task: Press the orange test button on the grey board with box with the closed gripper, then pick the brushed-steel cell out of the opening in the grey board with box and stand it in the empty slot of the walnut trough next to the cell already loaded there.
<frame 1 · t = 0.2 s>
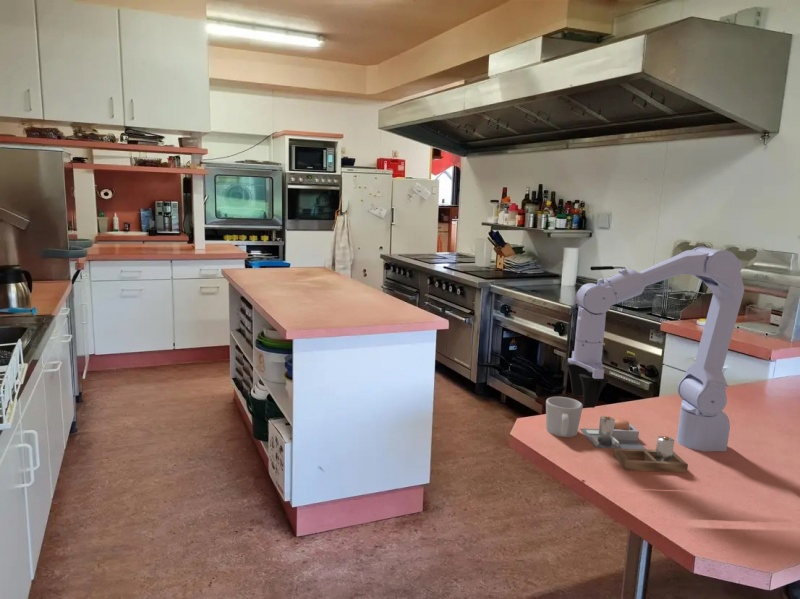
hand: (583, 400, 125), 10 cm above the countertop, fingers open, 7 cm apart
cell: (604, 442, 125), point 1 cm above the countertop, touching grey board with box
cell2: (662, 465, 116), point 1 cm above the countertop, touching trough
grey board with box: (611, 443, 127), on the countertop
button: (620, 425, 129), point 3 cm above the countertop, slide at 0.0 cm
trough: (648, 469, 116), on the countertop
cup: (561, 439, 129), on the countertop
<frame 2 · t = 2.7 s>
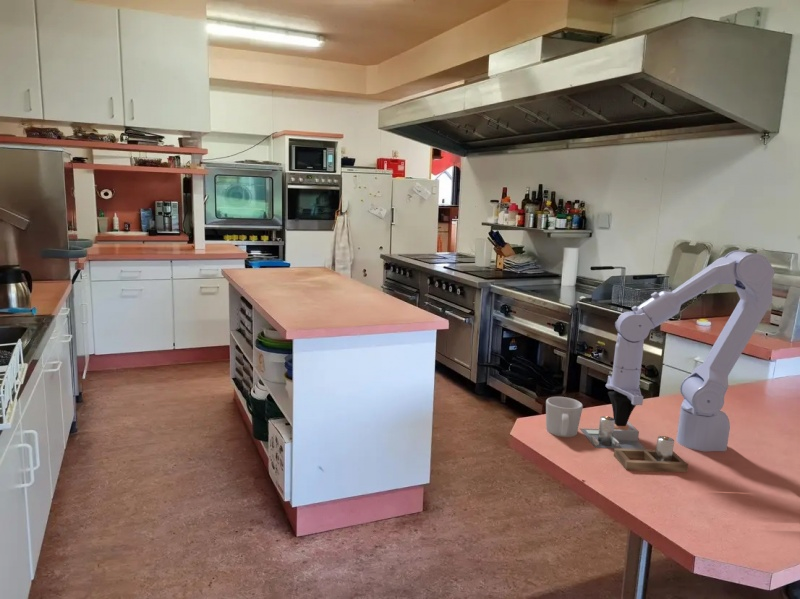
hand: (620, 424, 129), 4 cm above the countertop, fingers closed, pressing on button
button: (619, 429, 129), point 3 cm above the countertop, slide at 0.8 cm, touching gripper
everything else where it was.
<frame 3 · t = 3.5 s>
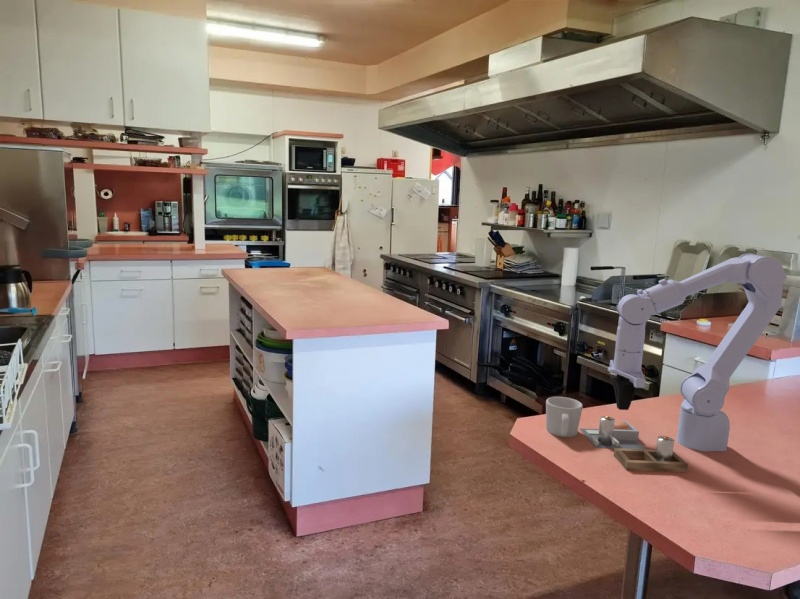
hand: (622, 408, 128), 7 cm above the countertop, fingers closed
button: (619, 428, 129), point 3 cm above the countertop, slide at 0.6 cm
everything else where it was.
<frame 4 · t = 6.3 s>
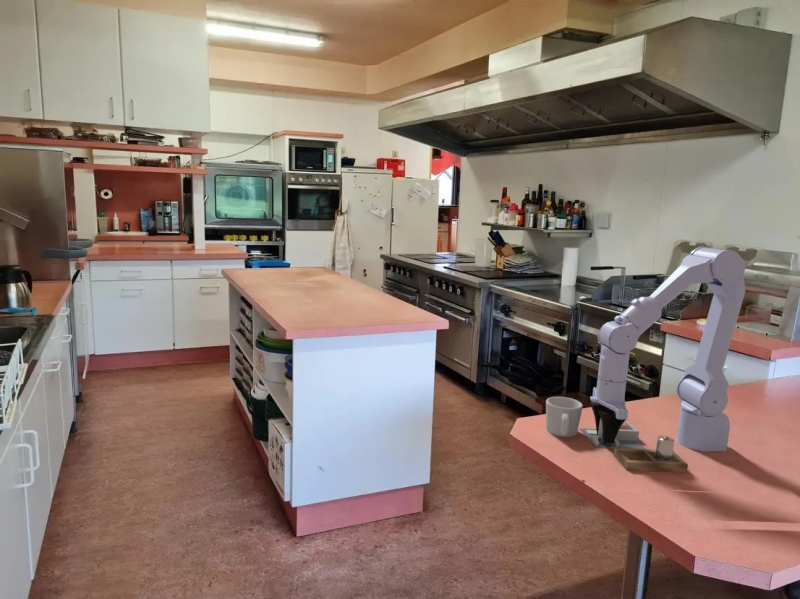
hand: (605, 438, 125), 2 cm above the countertop, fingers closed on cell, 3 cm apart
cell: (604, 442, 125), point 1 cm above the countertop, touching grey board with box, gripper
everything else where it was.
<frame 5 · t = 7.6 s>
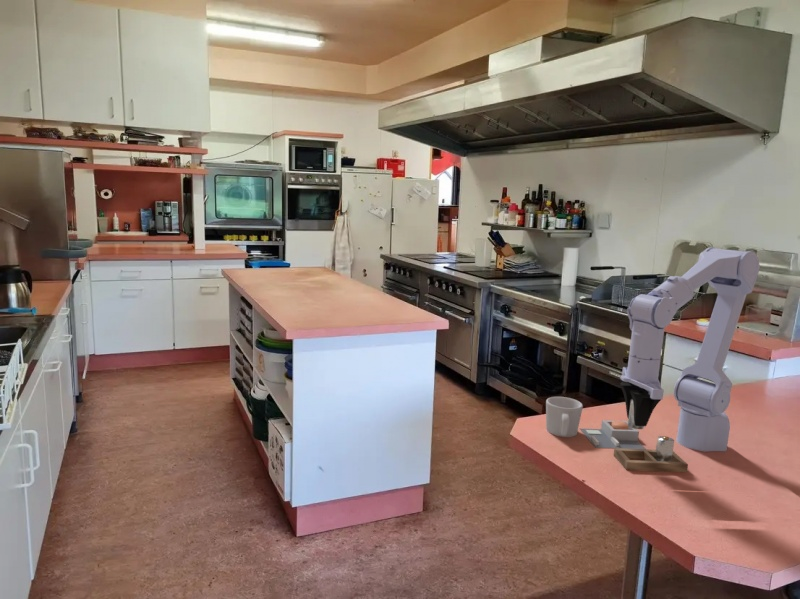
hand: (636, 422, 115), 9 cm above the countertop, fingers closed on cell, 3 cm apart
cell: (635, 426, 115), point 9 cm above the countertop, touching gripper
everything else where it was.
when the fingers open (3 cm above the countertop, at t = 9.2 s): cell drops 1 cm, resting on trough.
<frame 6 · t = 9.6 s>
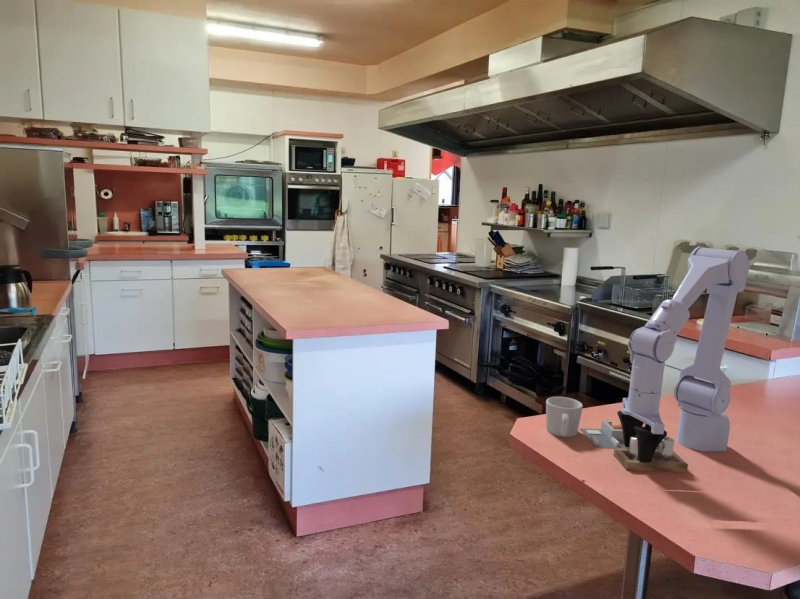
hand: (637, 454, 115), 3 cm above the countertop, fingers open, 6 cm apart
cell: (635, 464, 115), point 1 cm above the countertop, touching trough
everything else where it was.
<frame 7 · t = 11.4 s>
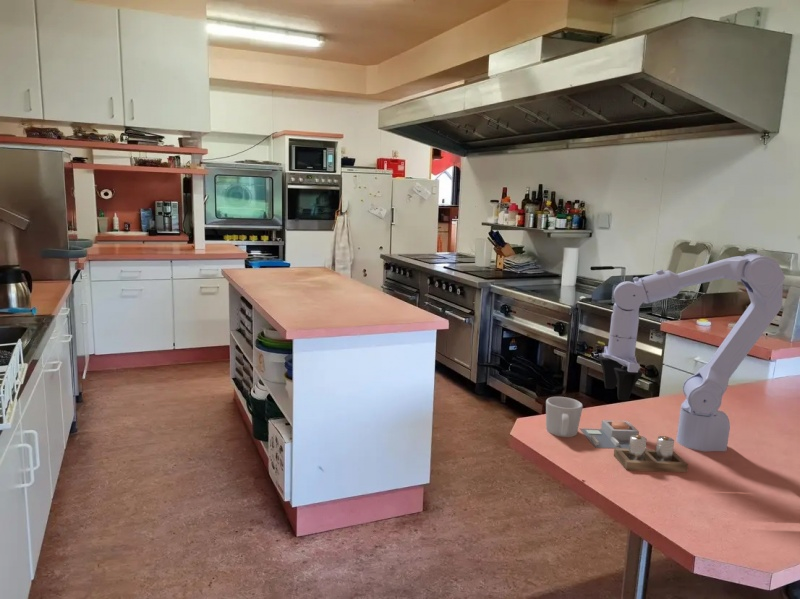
hand: (616, 393, 131), 10 cm above the countertop, fingers open, 7 cm apart
nothing on the countertop moved.
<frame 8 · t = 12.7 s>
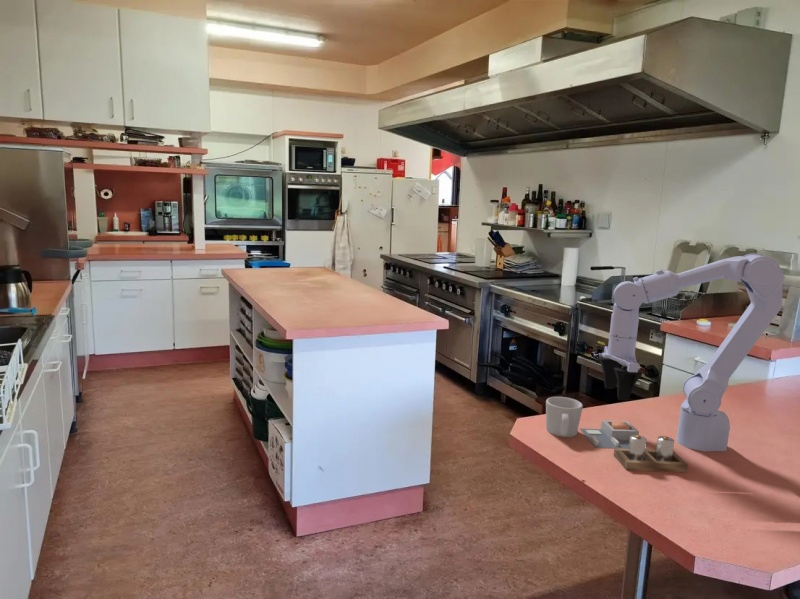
hand: (616, 393, 131), 10 cm above the countertop, fingers open, 7 cm apart
nothing on the countertop moved.
at the end: cell 0.1 cm from the target spot on the trough, point 1.0 cm above the trough's base; cell tilted 1°; the gripper is holding nothing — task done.
